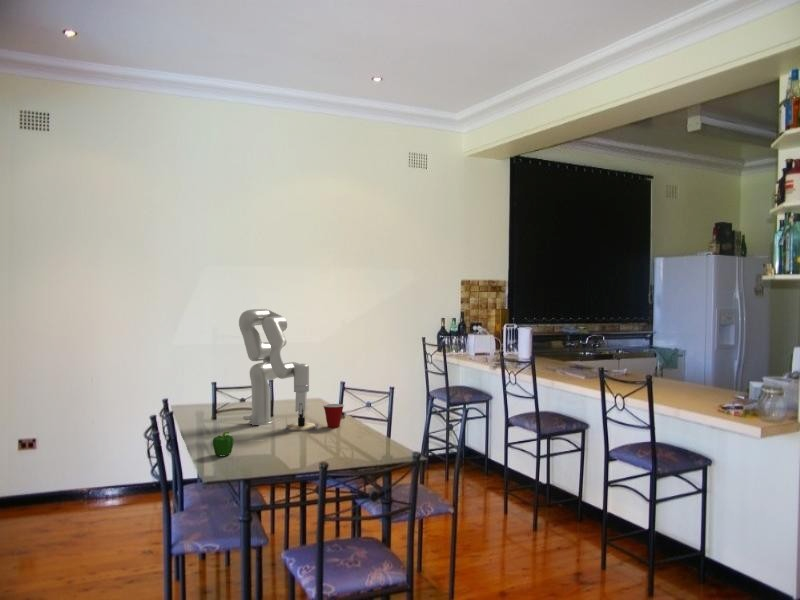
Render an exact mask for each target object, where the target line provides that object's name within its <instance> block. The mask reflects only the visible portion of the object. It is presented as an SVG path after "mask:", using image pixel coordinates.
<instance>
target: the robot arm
mask: <svg viewBox="0 0 800 600" xmlns="http://www.w3.org/2000/svg"><path fill="white" fill-rule="evenodd" d="M255 326H261V327H262V330H263V333H264V334H265V337H266V339H267V341H268V342H267V341H263V342H262V339H261V335H260V333H259V331H258V330H257V328H256V327H255ZM238 327H239V330H240V333H241V335H242V339H243V342H244V346H245V350H246V353H247V357H248V359H249V360H250V361H252V362H259V363H255V364H253V365H252V366H251V368H249V369H250V370H249V378H250V379H249V380H250V384H251V414H249V415H243V416H242V419H243V420H245V421H248V425H250V424H252V425H251V426H254V425H259V426H264V425H270V424H273V423H274V422H275V421H274V420H273V419H271V387H270V384H269V382H268V381H270V380H274V379H281V380H283V379H289V378H293V392H294V393H295V407H294V408H295V409H294V410H295V413H298V415H297V416H298V417H297V423H298V426H304V425H305V423H306V417H305V418H304V414H305V412H306V409H307V402H308V401H307V400H308V399H307V396H308V395H307V394H308V393H309V392H310V366H309V364H307V363H298V362H295V361H291V362H283V360H282V356H281V355H282V354H281V351H282V348H284V347H285V346H286V345H287V339H286V337H285V335H284V333H283V332H284V331H286V330H287V328H288V322H287V319H286V318H285V317H284V316H282V315H281V314H278V313H276V312H274V311H272V310H270V309H267V308H262V309H261V308H259V309H258V308H257V309H256V308H254V309H247V310H244V311H243V312H242V313H241V315H240V316H239V319H238ZM261 361H262V362H261ZM305 415H306V414H305Z"/></svg>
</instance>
